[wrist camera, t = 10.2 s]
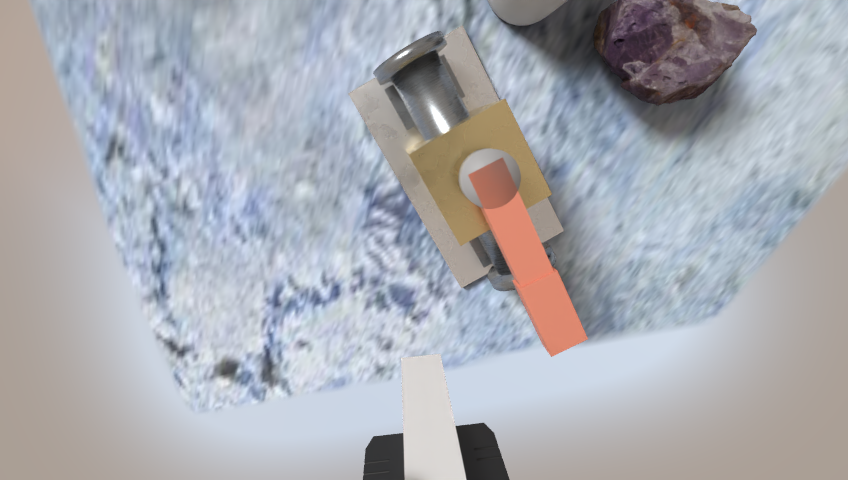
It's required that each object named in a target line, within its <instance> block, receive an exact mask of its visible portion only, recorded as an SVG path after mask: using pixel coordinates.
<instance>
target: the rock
mask: <svg viewBox="0 0 848 480" xmlns="http://www.w3.org/2000/svg"><path fill="white" fill-rule="evenodd" d="M750 22H751V16H750V15H746V14H745V13H743V12H742V11H740V9H739V7H738V6H735V5H729V4H723V3H719V2H715V3H714V2H710V1H708V0H617V1H616V2H615V3H613V4H611V5H610V6H609V7H608V8H606V9H605V10H603V11H602V12H601V13H600V15H599V18H598V22H597V25H596V27H595V31H594V46H595V48H596V49H597V51H598V52H599V53H600V55H601V57H602V58H603V60H604V62H606V64H607V65H608V66H609V68H610V69H611V71H612V72H613V73H615V74H617V75H618V76H619V77H620V78H621V79H622V81H623V82H622V83H621V87H622V88H624V89H626V90H628V91H630V92H631V93H632V94H633V95H635V96H636V97H637V98H638V99H640V100H642V101H646V102H648V103H652V104H655V105H657V106H659V105H661V104H663V103H669V104H670V103H672V102H675V101H678V100H683V99H692V98H696V97H697V96H699V95H700V94H702V93H703V92H704V91H705V90H706V89H707V88H708V87H709V86H711V85H712V84H713V83H714V82H715V81H716V80H717V79H718V78H719V76H720V75H721V74H722V73H723V72H724V71H725V70H726V69H728V68H729V67H731V66H732V63H733V61H734V60H735V59H736V58H737V57H738V56H739V54H740V53H741V51H742V50H743V48H744V47H745V46H746V45H747V44H748V42H749V41H750V39H751V38H752V37H753V36H754V35H756V32H757V29H756V28H755V26H754V25H752V24H751V23H750Z"/></svg>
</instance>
